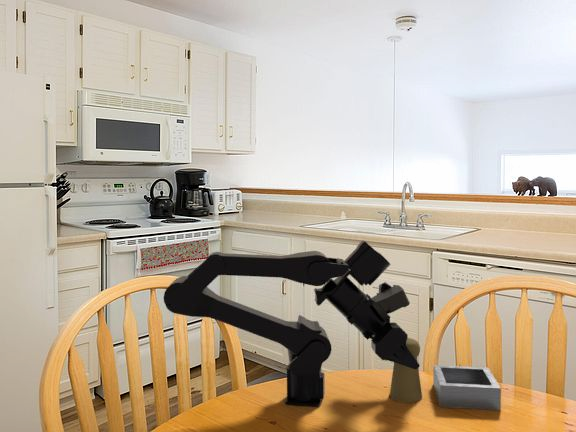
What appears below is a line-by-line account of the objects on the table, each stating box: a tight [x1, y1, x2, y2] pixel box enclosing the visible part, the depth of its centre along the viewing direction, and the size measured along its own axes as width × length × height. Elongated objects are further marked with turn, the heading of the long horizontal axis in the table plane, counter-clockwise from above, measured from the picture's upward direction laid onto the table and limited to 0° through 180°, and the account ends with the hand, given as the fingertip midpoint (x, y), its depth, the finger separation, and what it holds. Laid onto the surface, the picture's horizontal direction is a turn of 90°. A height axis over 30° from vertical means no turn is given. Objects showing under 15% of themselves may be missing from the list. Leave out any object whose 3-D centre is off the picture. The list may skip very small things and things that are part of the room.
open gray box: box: [433, 364, 502, 411], centre depth 97 cm, size 10×10×4 cm
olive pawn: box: [389, 337, 423, 403], centre depth 98 cm, size 6×6×11 cm
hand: (410, 358), depth 98 cm, fingers open, 9 cm apart
